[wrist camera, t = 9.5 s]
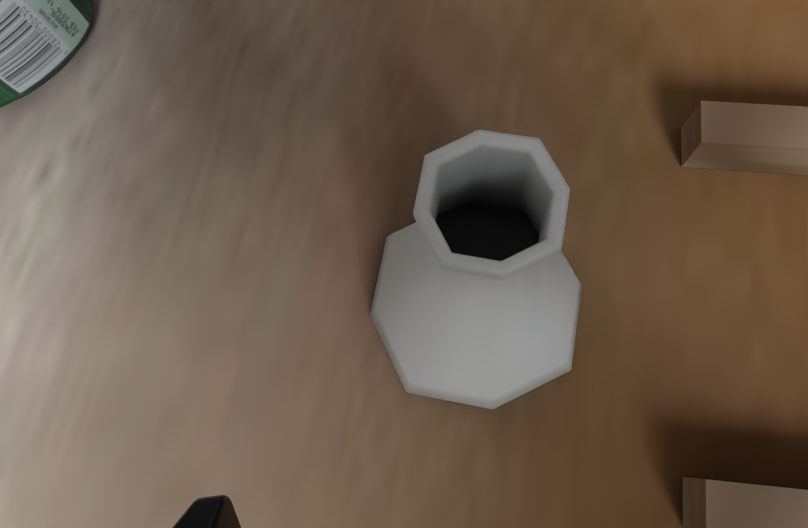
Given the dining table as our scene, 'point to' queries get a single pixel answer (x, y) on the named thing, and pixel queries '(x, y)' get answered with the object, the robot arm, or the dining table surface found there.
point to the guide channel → (758, 152)
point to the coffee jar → (38, 41)
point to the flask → (480, 275)
